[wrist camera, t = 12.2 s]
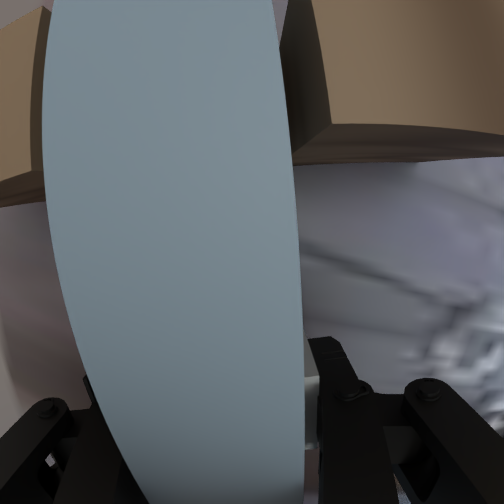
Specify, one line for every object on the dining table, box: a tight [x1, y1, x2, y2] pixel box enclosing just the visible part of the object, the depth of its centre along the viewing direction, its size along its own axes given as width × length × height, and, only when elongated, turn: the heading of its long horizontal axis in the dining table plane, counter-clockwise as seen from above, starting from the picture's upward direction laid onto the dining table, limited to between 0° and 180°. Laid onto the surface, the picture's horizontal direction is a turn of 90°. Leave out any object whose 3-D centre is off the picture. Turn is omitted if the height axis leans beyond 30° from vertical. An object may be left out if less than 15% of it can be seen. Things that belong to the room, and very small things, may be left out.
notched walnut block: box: [0, 0, 504, 208], centre depth 8 cm, size 18×3×10 cm, turn 95°
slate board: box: [42, 0, 305, 504], centre depth 9 cm, size 26×3×10 cm, turn 5°
